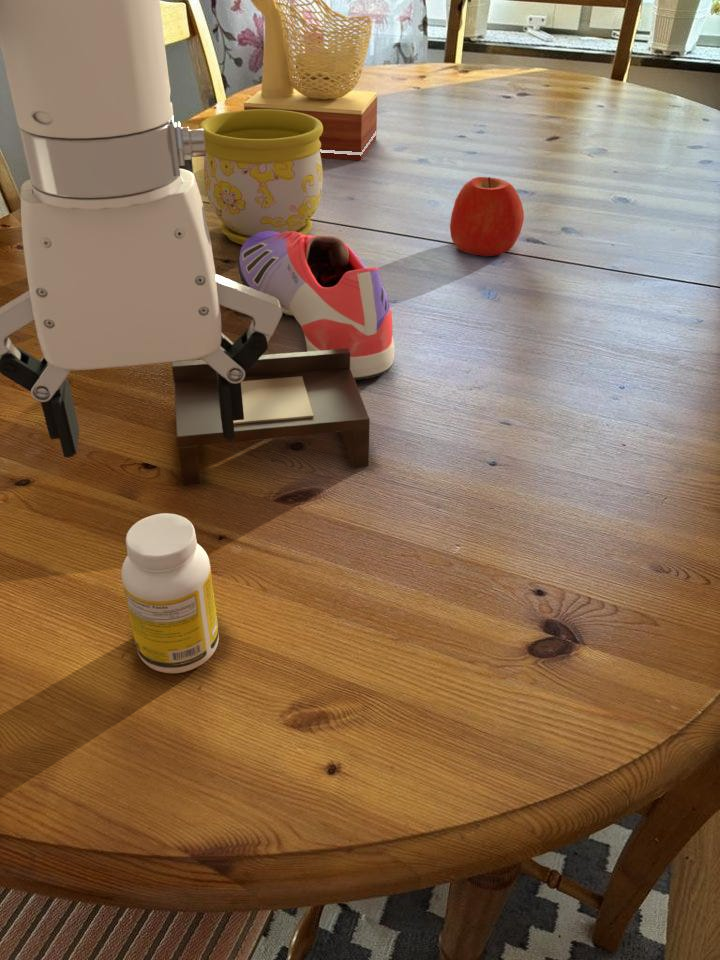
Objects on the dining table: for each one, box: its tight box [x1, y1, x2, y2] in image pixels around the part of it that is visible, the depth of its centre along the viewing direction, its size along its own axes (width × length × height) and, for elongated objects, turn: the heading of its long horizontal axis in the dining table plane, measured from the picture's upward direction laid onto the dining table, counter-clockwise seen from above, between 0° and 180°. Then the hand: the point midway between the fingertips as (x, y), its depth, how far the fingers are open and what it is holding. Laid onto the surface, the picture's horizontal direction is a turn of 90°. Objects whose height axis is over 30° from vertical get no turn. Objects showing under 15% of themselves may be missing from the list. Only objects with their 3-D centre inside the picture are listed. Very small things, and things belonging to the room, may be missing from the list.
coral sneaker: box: [237, 231, 396, 381], centre depth 106 cm, size 12×36×13 cm, turn 24°
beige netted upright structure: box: [243, 0, 378, 162], centre depth 166 cm, size 25×18×35 cm
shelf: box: [171, 348, 371, 486], centre depth 85 cm, size 18×11×7 cm, turn 101°
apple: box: [449, 176, 525, 257], centre depth 128 cm, size 11×11×11 cm
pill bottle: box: [120, 512, 220, 674], centre depth 62 cm, size 6×6×11 cm
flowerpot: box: [198, 109, 324, 246], centre depth 130 cm, size 18×18×16 cm
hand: (151, 436), depth 54 cm, fingers open, 9 cm apart
